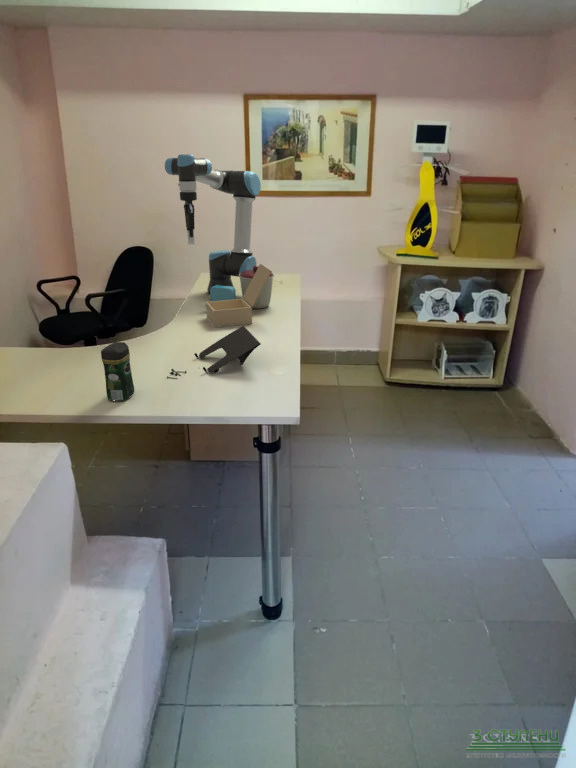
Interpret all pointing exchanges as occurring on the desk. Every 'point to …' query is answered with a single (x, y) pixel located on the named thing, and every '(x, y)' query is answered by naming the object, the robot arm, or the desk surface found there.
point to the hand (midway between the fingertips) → (191, 244)
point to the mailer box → (229, 313)
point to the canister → (265, 293)
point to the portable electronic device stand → (231, 348)
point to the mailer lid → (257, 284)
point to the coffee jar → (117, 371)
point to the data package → (222, 293)
